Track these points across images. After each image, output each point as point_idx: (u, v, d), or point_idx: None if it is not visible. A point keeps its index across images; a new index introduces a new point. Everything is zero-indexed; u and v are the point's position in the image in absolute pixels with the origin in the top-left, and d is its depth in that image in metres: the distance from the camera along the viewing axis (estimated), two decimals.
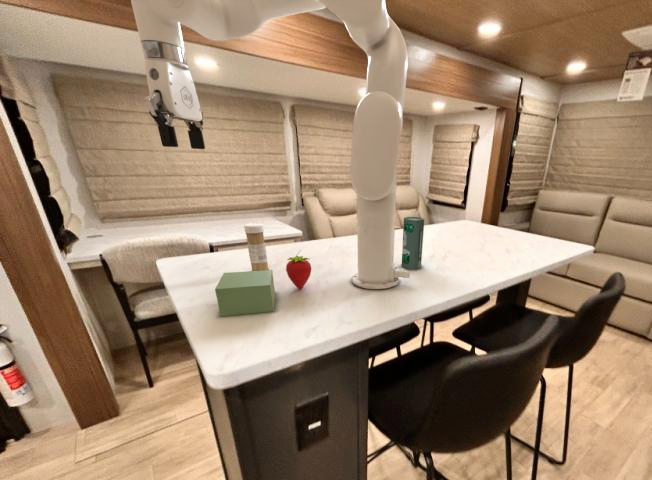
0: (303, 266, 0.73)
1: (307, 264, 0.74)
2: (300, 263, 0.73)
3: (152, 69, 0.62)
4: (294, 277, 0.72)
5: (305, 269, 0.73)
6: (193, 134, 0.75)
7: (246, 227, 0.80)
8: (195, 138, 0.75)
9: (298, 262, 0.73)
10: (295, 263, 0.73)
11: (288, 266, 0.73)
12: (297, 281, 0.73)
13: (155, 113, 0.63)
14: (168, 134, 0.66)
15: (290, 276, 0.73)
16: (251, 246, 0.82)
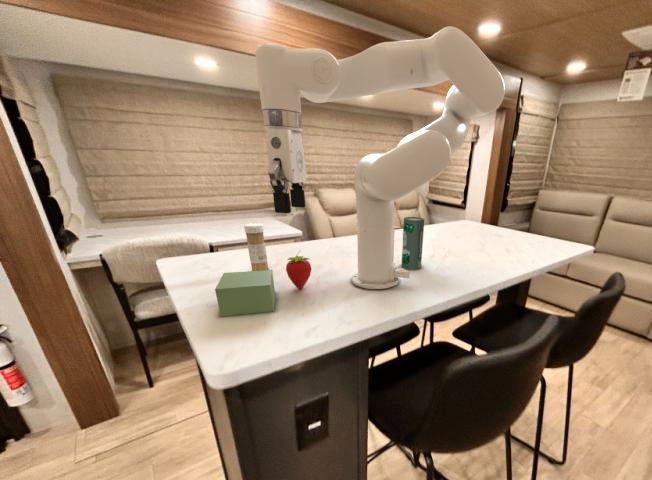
0: (303, 266, 0.73)
1: (307, 264, 0.74)
2: (300, 263, 0.73)
3: (273, 137, 0.60)
4: (294, 277, 0.72)
5: (305, 269, 0.73)
6: (295, 193, 0.72)
7: (246, 227, 0.80)
8: (297, 197, 0.73)
9: (298, 262, 0.73)
10: (295, 263, 0.73)
11: (288, 266, 0.73)
12: (297, 281, 0.73)
13: (276, 182, 0.60)
14: (283, 201, 0.63)
15: (290, 276, 0.73)
16: (251, 246, 0.82)
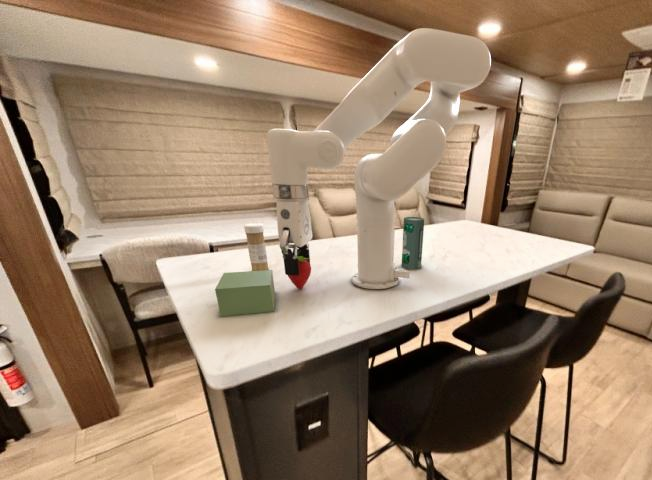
0: (303, 266, 0.72)
1: (307, 264, 0.74)
2: (300, 263, 0.73)
3: (283, 209, 0.65)
4: (294, 277, 0.72)
5: (304, 270, 0.73)
6: (301, 252, 0.77)
7: (246, 227, 0.80)
8: None
9: None
10: None
11: None
12: (297, 281, 0.73)
13: (287, 252, 0.67)
14: (293, 266, 0.70)
15: (290, 276, 0.73)
16: (251, 246, 0.82)
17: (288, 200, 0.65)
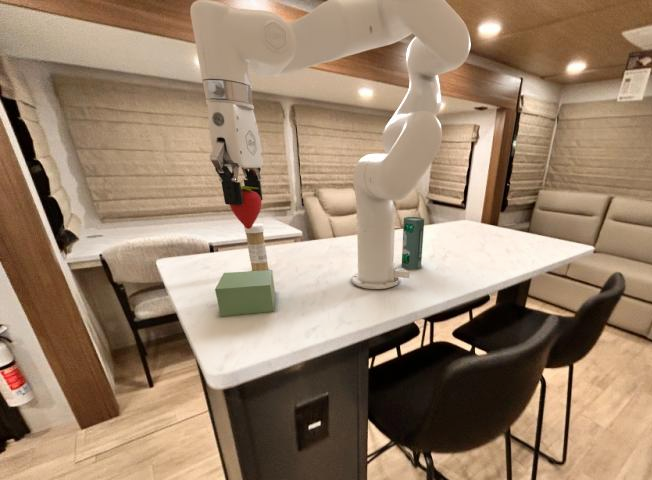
0: (249, 195, 0.59)
1: (254, 194, 0.60)
2: (245, 192, 0.59)
3: (215, 113, 0.51)
4: (237, 209, 0.58)
5: (250, 200, 0.59)
6: (250, 184, 0.63)
7: None
8: None
9: (242, 191, 0.59)
10: None
11: None
12: (242, 215, 0.59)
13: (223, 170, 0.53)
14: (233, 192, 0.56)
15: (233, 208, 0.59)
16: (251, 246, 0.82)
17: (222, 101, 0.51)
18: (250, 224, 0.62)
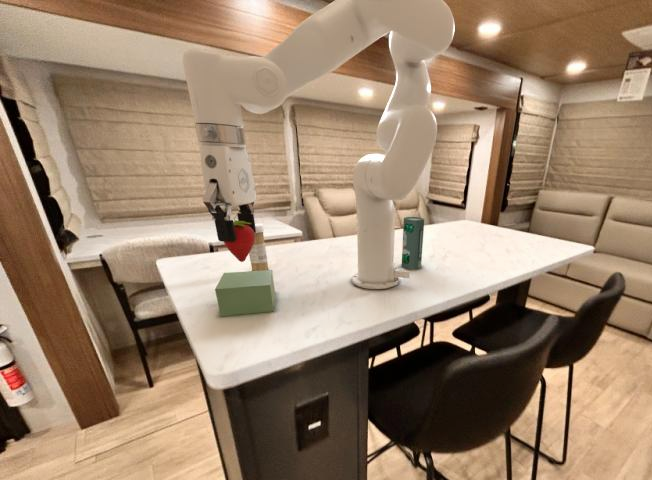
0: (242, 231, 0.59)
1: (247, 230, 0.61)
2: (238, 228, 0.60)
3: (208, 155, 0.52)
4: (230, 244, 0.59)
5: (243, 236, 0.60)
6: (243, 218, 0.64)
7: None
8: None
9: (235, 227, 0.60)
10: None
11: None
12: (235, 250, 0.60)
13: (215, 210, 0.54)
14: (226, 230, 0.57)
15: (226, 244, 0.60)
16: None
17: (214, 144, 0.52)
18: (243, 258, 0.63)
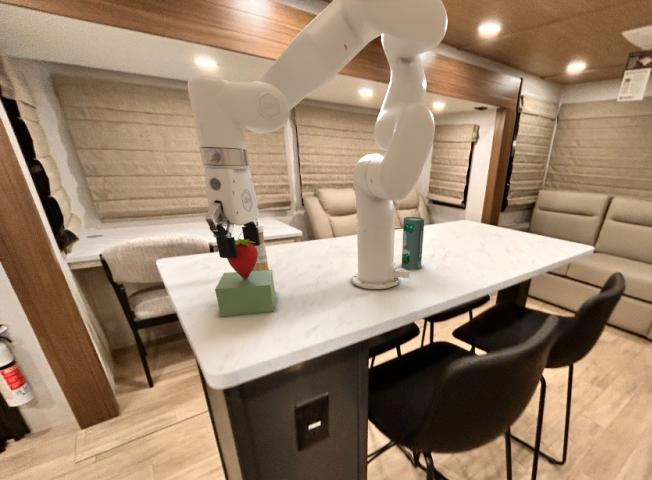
0: (245, 250, 0.61)
1: (251, 248, 0.62)
2: (242, 247, 0.61)
3: (212, 178, 0.54)
4: (234, 263, 0.61)
5: (247, 254, 0.61)
6: (248, 231, 0.66)
7: None
8: (250, 235, 0.67)
9: (239, 246, 0.61)
10: None
11: None
12: (239, 268, 0.62)
13: (217, 228, 0.54)
14: (228, 247, 0.57)
15: (230, 262, 0.61)
16: None
17: (218, 167, 0.54)
18: (247, 275, 0.65)
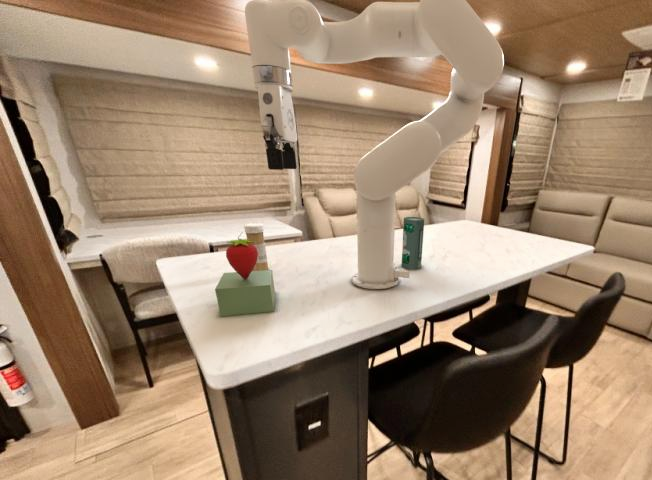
0: (245, 250, 0.61)
1: (251, 248, 0.62)
2: (242, 247, 0.61)
3: (265, 93, 0.62)
4: (234, 263, 0.61)
5: (247, 254, 0.61)
6: (287, 154, 0.75)
7: (246, 227, 0.80)
8: (288, 158, 0.75)
9: (239, 246, 0.61)
10: (236, 247, 0.61)
11: (227, 250, 0.61)
12: (239, 268, 0.62)
13: (270, 137, 0.63)
14: (277, 157, 0.66)
15: (230, 262, 0.61)
16: None
17: (270, 83, 0.62)
18: (247, 275, 0.65)
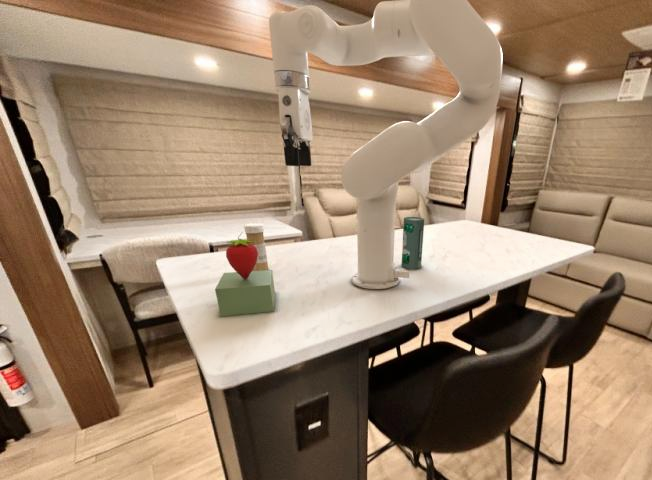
0: (245, 250, 0.61)
1: (251, 248, 0.62)
2: (242, 247, 0.61)
3: (284, 96, 0.68)
4: (234, 263, 0.61)
5: (247, 254, 0.61)
6: (302, 152, 0.81)
7: (246, 227, 0.80)
8: (304, 156, 0.81)
9: (239, 246, 0.61)
10: (236, 247, 0.61)
11: (227, 250, 0.61)
12: (239, 268, 0.62)
13: (287, 136, 0.68)
14: (293, 155, 0.71)
15: (230, 262, 0.61)
16: None
17: (289, 87, 0.68)
18: (247, 275, 0.65)
